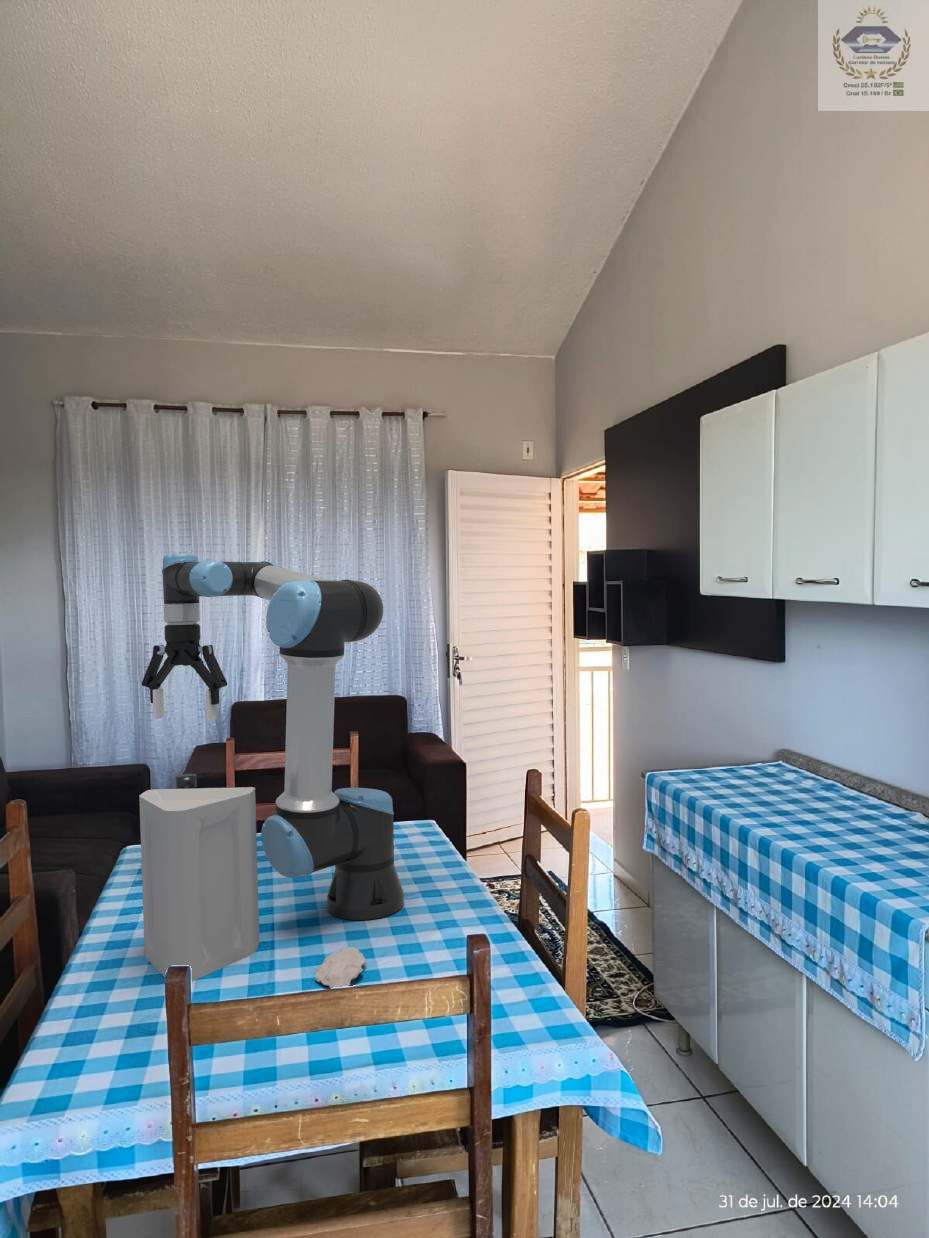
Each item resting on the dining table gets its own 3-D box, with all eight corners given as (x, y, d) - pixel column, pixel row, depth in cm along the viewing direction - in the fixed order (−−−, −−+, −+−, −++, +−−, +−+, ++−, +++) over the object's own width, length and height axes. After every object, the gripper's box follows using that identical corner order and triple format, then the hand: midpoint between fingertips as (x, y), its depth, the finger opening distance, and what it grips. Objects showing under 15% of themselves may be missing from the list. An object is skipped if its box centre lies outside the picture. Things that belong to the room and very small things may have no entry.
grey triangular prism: (120, 984, 131) (114, 812, 130) (153, 944, 146) (148, 789, 145) (239, 981, 131) (234, 809, 130) (260, 941, 146) (256, 786, 145)
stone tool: (366, 996, 126) (364, 960, 141) (367, 976, 126) (365, 942, 141) (313, 998, 125) (316, 961, 140) (314, 977, 125) (317, 942, 140)
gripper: (241, 622, 181) (243, 717, 182) (144, 623, 188) (147, 714, 189) (222, 623, 174) (225, 722, 175) (123, 624, 181) (126, 719, 181)
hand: (185, 718), depth 182 cm, fingers open, 13 cm apart
